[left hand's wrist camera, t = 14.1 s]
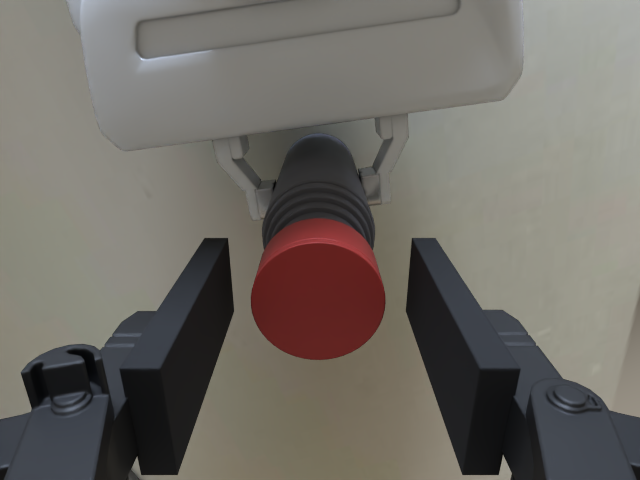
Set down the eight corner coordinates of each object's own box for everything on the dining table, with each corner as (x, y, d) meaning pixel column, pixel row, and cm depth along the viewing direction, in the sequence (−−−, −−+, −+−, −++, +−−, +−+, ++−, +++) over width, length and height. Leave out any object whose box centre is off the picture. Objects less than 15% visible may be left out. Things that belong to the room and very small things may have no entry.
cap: (399, 251, 15) (412, 280, 13) (340, 339, 16) (342, 378, 14) (293, 196, 14) (289, 218, 12) (240, 293, 15) (228, 327, 13)
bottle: (366, 154, 29) (425, 270, 13) (332, 213, 31) (346, 382, 15) (304, 120, 28) (284, 196, 12) (272, 182, 30) (215, 324, 14)
